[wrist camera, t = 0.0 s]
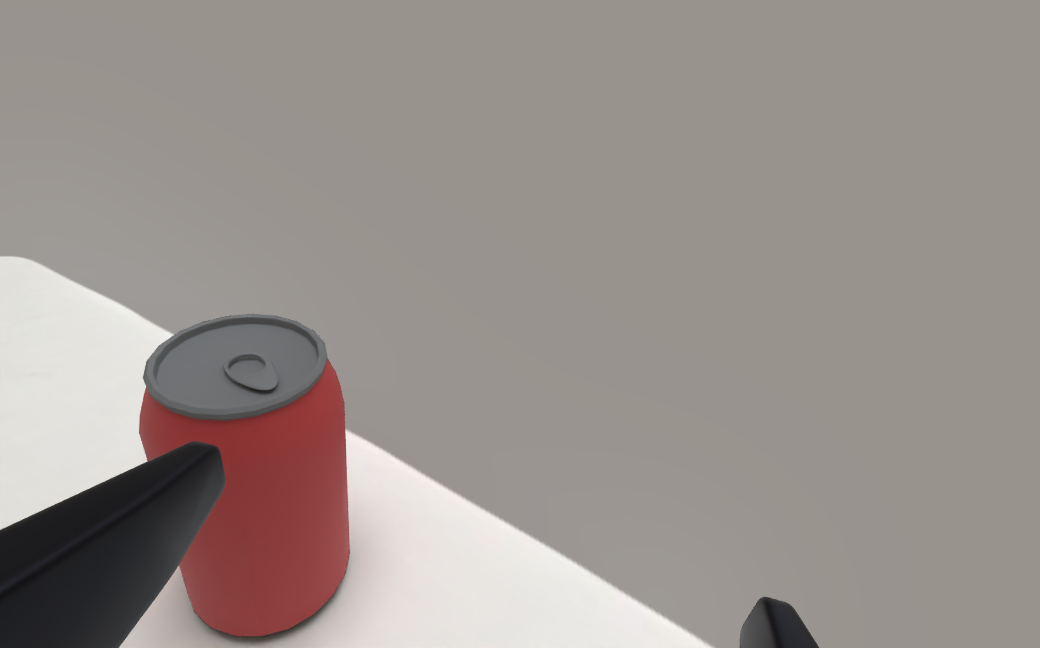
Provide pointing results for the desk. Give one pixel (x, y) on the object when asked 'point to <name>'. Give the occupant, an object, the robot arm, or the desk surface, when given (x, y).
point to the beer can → (257, 466)
